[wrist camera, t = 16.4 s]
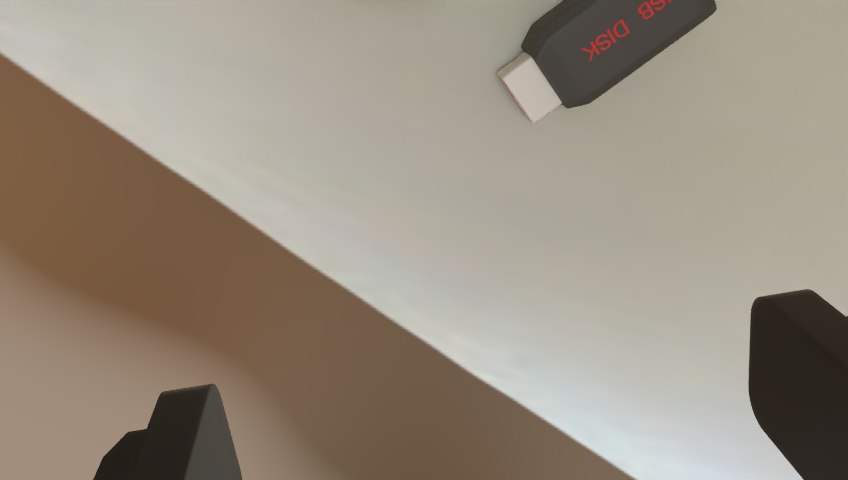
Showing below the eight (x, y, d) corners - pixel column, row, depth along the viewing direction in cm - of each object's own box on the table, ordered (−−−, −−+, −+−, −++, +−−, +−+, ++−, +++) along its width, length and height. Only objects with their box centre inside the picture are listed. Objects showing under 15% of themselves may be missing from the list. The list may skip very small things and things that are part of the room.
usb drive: (706, 3, 46) (728, 9, 44) (535, 128, 48) (545, 140, 46) (663, -75, 44) (682, -74, 42) (485, 58, 46) (494, 66, 44)
